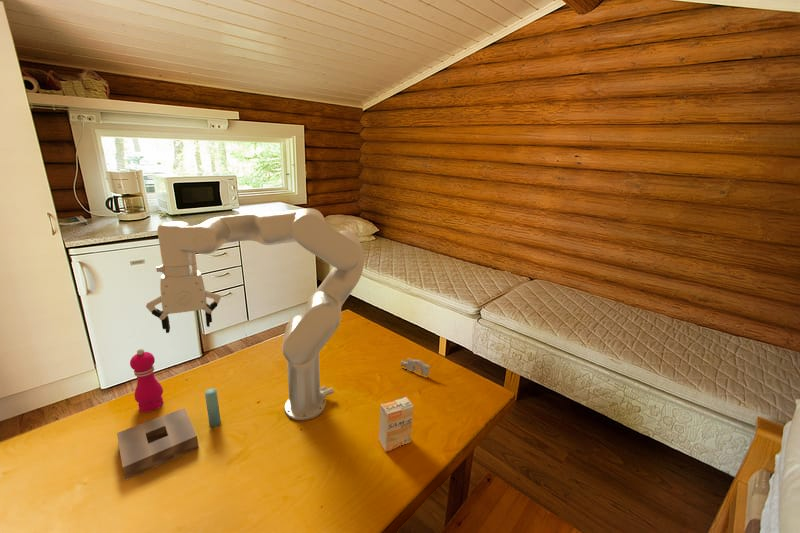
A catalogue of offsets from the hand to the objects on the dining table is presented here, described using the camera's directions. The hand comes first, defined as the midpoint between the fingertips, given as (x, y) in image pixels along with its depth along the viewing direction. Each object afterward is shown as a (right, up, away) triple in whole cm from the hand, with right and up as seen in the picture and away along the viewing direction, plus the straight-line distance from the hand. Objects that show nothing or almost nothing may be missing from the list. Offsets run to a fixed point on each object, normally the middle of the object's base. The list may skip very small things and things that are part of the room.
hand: (188, 327), depth 99 cm
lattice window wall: (+64, -23, +36) cm, 77 cm away
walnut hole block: (-7, -32, -2) cm, 33 cm away
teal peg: (+4, -29, +7) cm, 31 cm away
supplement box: (+57, -34, +3) cm, 66 cm away
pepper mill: (-19, -27, +13) cm, 35 cm away
